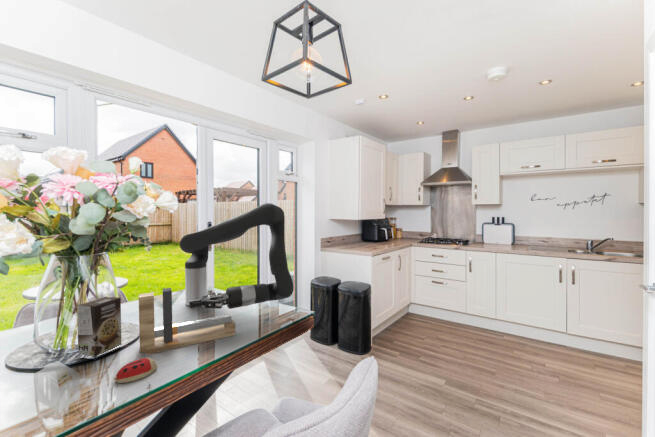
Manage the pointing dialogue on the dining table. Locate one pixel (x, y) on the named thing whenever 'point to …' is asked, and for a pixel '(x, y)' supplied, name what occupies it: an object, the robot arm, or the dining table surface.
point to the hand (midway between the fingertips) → (189, 304)
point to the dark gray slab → (167, 314)
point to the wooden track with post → (179, 340)
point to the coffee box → (99, 326)
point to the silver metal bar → (195, 325)
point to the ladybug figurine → (135, 370)
